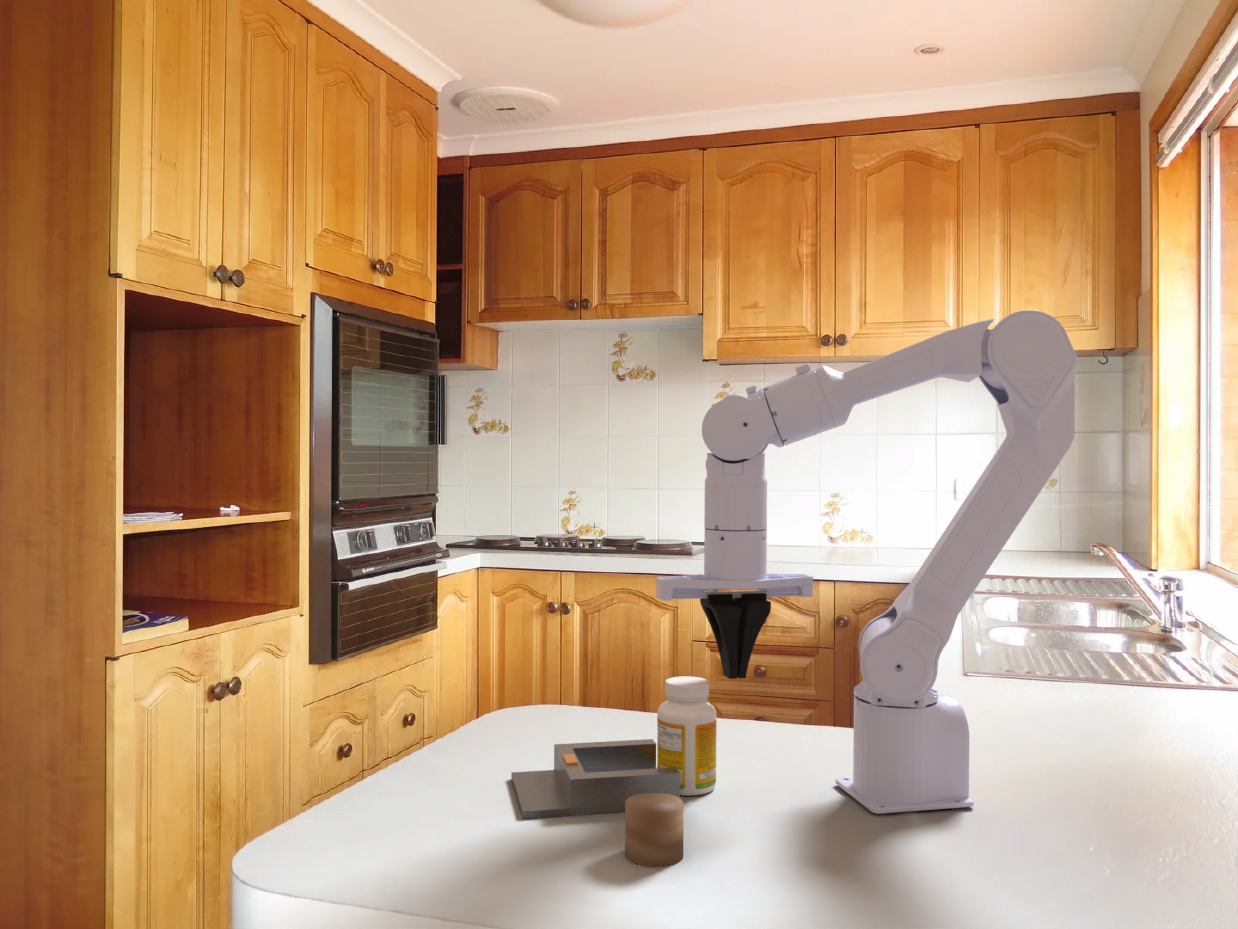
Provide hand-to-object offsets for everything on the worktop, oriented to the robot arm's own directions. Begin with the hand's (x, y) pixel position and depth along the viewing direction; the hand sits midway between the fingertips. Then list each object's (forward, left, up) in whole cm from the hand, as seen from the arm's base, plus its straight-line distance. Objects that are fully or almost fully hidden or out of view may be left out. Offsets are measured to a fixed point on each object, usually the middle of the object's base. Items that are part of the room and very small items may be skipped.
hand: (734, 676), depth 88 cm
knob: (+11, +14, -10) cm, 20 cm away
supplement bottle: (+4, 0, -10) cm, 11 cm away
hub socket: (+13, 0, -10) cm, 17 cm away
